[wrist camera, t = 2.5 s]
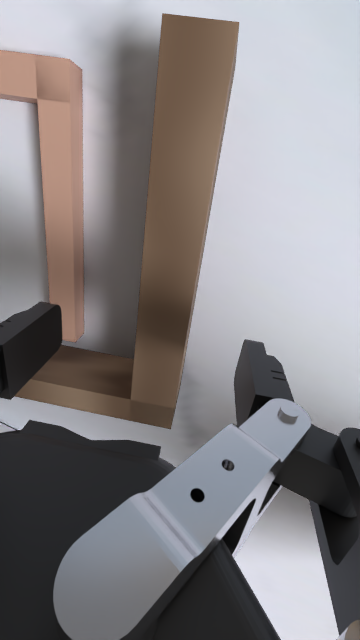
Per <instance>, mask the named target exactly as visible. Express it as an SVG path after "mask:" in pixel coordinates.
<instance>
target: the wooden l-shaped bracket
mask: <svg viewBox="0 0 360 640" xmlns="http://www.w3.org/2000/svg"><path fill="white" fill-rule="evenodd" d="M238 31H239V22H232V21H224V20H215V19H206V18H198V17H189V16H180V15H172V14H163V13H162V25H161V37H160V49H159V61H158V74H157V86H156V98H155V110H154V122H153V134H152V146H151V159H150V171H149V183H148V195H147V207H146V219H145V232H144V244H143V256H142V268H141V280H140V292H139V305H138V317H137V329H136V341H135V353H134V359H130V358H125V357H120V356H115V355H110V354H105V353H100V352H95V351H89V350H84V349H79V348H74V347H69V346H64V345H61V346H60V348H59V350H58V351H57V352H56V353H55V354H54V355H53V356H52V357H51V358H50V359H49V360H48V361H47V362H46V363H45V364H44V366H43V367H42V368H41V369H40V370H39V371H38V372H37V373H36V374H35V375H34V376H33V377H32V378H31V379H30V380H29V381H28V382H27V383H26V384H25V385H24V386H23V387H22V388H21V389H20V391H19V392H18V393H17V394H16V395H15V397H20V398H25V399H30V400H34V401H39V402H44V403H49V404H53V405H58V406H63V407H68V408H72V409H77V410H82V411H87V412H91V413H96V414H101V415H106V416H110V417H115V418H120V419H125V420H129V421H134V422H139V423H144V424H148V425H153V426H158V427H163V428H167V429H171V426H172V421H173V417H174V412H175V408H176V403H177V399H178V394H179V389H180V384H181V378H182V373H183V367H184V361H185V355H186V349H187V344H188V338H189V332H190V326H191V320H192V315H193V309H194V303H195V297H196V291H197V286H198V280H199V274H200V268H201V262H202V257H203V251H204V245H205V239H206V233H207V228H208V222H209V216H210V210H211V204H212V199H213V193H214V187H215V181H216V175H217V170H218V164H219V158H220V152H221V146H222V141H223V135H224V129H225V123H226V117H227V112H228V106H229V100H230V94H231V88H232V83H233V77H234V71H235V63H236V52H237V41H238Z"/></svg>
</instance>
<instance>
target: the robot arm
mask: <svg viewBox="0 0 360 640" xmlns="http://www.w3.org/2000/svg"><path fill="white" fill-rule="evenodd" d="M61 343H62V313H61V307H60V306H59V305H57V304H51V303H46V302H39V303H38V304H36V305H35V306H33V307H32V308H30V309H29V310H26V311H23V312H20V313H17V314H14V315H13V316H11V317H10V318H8V319H6V321H3V322H2V323H0V398H5V399H10V400H11V399H12V398H13V397H14V396H15V395H16V394H17V393H18V392H19V391H20V389H21V388H22V387H23V386H24V385H25V384H26V383H27V382H28V381H29V380H30V379H31V378H32V377H33V376H34V375H35V374H36V373H37V372H38V371H39V370H40V369H41V368H42V367H43V366H44V364H45V363H46V362H47V361H48V360H49V359H50V358H51V357H52V356H53V355H54V354H55V353H56V352H57V351H58V350H59V348H60V346H61ZM286 380H287V379H286V376H285V374H284V370H283V367H282V365H281V363H280V362H279V361H278V360H277V359H276V358H275V357H274V356H269V355H267V354H266V351H265V347H264V344H263V343H262V342H257V341H251V340H246V339H245V340H244V343H243V346H242V349H241V353H240V357H239V360H238V364H237V367H236V371H235V377H234V391H235V404H236V418H237V426H236V425H234V424H229V425H228V426H226V427H225V428H224V429H223V430H221V431H220V432H219V433H218V434H217V435H215V436H214V437H213V438H212V439H211V440H209V441H208V442H207V443H206V444H205V445H203V446H202V447H201V448H200V449H199V450H197V451H196V452H195V453H194V454H192V455H191V456H190V457H189V458H188V459H186V460H185V461H184V462H183V463H182V464H180V465H179V466H178V467H177V468H175V467H174V466H173V465H171V464H170V463H168V462H167V461H165V460H163V459H161V458H159V455H160V449H161V447H160V446H155V445H150V444H145V443H141V442H136V441H131V440H89V439H87V438H85V437H82V436H80V435H78V434H76V433H74V432H72V431H70V430H68V429H66V428H64V427H62V426H57V425H52V424H47V423H42V422H37V421H32V420H29V421H28V423H27V424H26V425H25V426H24V428H23V429H22V430H15V431H7V432H2V433H0V640H281V639H280V638H279V636H278V634H277V632H276V631H275V629H274V627H273V625H272V624H271V622H270V620H269V619H268V617H267V615H266V613H265V612H264V610H263V608H262V606H261V605H260V603H259V601H258V599H257V598H256V596H255V594H254V593H253V591H252V589H251V587H250V586H249V584H248V582H247V580H246V579H245V577H244V575H243V574H242V572H241V570H240V568H239V567H238V565H237V563H236V561H235V560H234V558H235V556H236V555H237V553H238V552H239V550H240V549H241V547H242V546H243V544H244V542H245V541H246V539H247V537H248V535H249V534H250V532H251V530H252V528H253V527H254V525H255V524H256V522H257V521H258V520H259V518H260V517H261V515H262V514H263V513H264V511H265V510H266V509H267V507H268V506H269V504H270V503H271V502H272V500H273V499H274V497H275V496H276V495H277V493H278V492H279V491H280V489H281V488H282V486H283V487H285V488H287V489H289V490H291V491H293V492H295V493H297V494H299V495H301V496H303V497H305V498H307V499H309V502H310V506H311V511H312V515H313V520H314V524H315V529H316V533H317V538H318V542H319V547H320V551H321V556H322V560H323V565H324V569H325V574H326V578H327V583H328V587H329V591H330V596H331V600H332V605H333V609H334V614H335V618H336V623H337V627H338V632H339V637H338V638H337V639H336V640H360V429H357V428H346V429H344V430H342V431H341V433H340V435H339V436H336V435H334V434H332V433H329V432H327V431H325V430H322V429H320V428H318V427H316V426H314V425H312V424H311V418H310V416H309V414H308V413H307V412H306V411H305V410H304V409H303V408H302V407H301V406H299V405H298V404H296V403H294V400H293V397H292V394H291V391H290V388H289V385H288V382H287V381H286Z"/></svg>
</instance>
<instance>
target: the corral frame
mask: <svg viewBox="0 0 360 640" xmlns="http://www.w3.org/2000/svg"><path fill="white" fill-rule="evenodd" d="M0 99H7V100H14V101H22V102H29V103H36V104H38V119H39V135H40V151H41V168H42V184H43V200H44V217H45V233H46V249H47V265H48V282H49V298H50V303H51V304H57V305H59V306H60V307H61V313H62V340H66V341H71V342H76V341H77V340H78V339H79V338H80V337H81V336H82V335H83V334H84V267H83V115H82V69H81V68H80V67H78V66H77V65H76V64H75V63H74V62H72V61H71V60H70V59H65V58H58V57H50V56H42V55H34V54H27V53H19V52H11V51H3V50H0Z"/></svg>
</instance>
